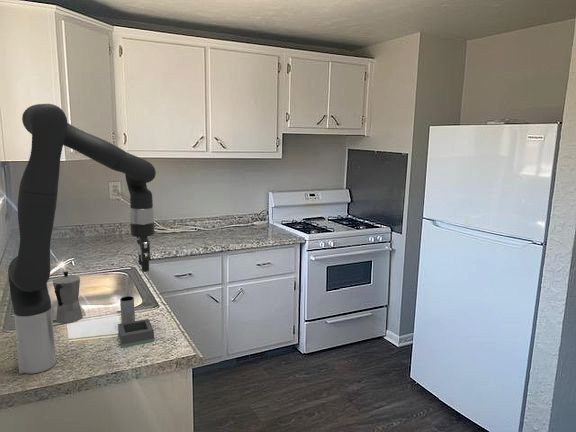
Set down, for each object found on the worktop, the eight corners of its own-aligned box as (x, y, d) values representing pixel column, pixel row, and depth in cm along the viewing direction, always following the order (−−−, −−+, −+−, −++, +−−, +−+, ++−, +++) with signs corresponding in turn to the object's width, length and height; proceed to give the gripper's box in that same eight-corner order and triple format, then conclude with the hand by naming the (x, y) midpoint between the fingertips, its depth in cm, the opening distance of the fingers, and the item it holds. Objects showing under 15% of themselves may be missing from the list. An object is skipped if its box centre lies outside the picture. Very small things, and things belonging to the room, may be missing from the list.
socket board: (121, 347, 137) (121, 336, 136) (118, 335, 146) (117, 323, 145) (154, 341, 141) (153, 330, 141) (148, 329, 150) (148, 318, 149)
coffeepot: (63, 311, 164) (59, 266, 161) (89, 311, 165) (85, 266, 162) (45, 329, 149) (40, 279, 146) (73, 328, 150) (69, 279, 147)
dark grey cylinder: (119, 325, 153) (117, 298, 151) (131, 322, 156) (130, 295, 154) (125, 329, 149) (123, 301, 148) (137, 326, 153) (136, 298, 151)
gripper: (128, 218, 148) (130, 263, 151) (132, 225, 135) (134, 275, 138) (150, 216, 151) (152, 261, 154) (157, 224, 138) (158, 272, 141)
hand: (143, 267), depth 146 cm, fingers open, 8 cm apart
